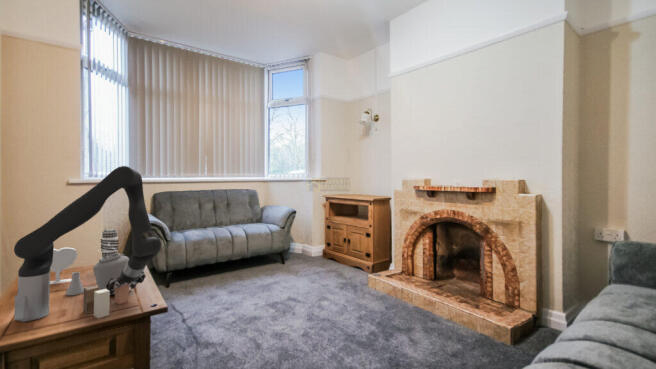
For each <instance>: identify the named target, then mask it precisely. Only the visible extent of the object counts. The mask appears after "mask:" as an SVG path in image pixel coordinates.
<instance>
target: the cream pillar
mask: <svg viewBox="0 0 656 369" xmlns="http://www.w3.org/2000/svg"><path fill="white" fill-rule="evenodd" d="M110 296H111V295H110V291H109V290H107V289H102V290H98V291H94V312H93V316H94V318H96V319H100V318H103V317H107V316H109V315H110V300H111V299H110Z"/></svg>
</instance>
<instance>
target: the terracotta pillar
mask: <svg viewBox="0 0 656 369" xmlns="http://www.w3.org/2000/svg"><path fill="white" fill-rule="evenodd" d="M119 285H120V283H119ZM115 286H116V285H115ZM129 290H130V288H129V284H126V285H123V286H122V287H120V288H117V289H115V294H114V303H115V304H117V305H121V304H125V303H128V302H129V294H130V291H129Z"/></svg>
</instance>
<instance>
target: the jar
mask: <svg viewBox="0 0 656 369" xmlns="http://www.w3.org/2000/svg"><path fill="white" fill-rule="evenodd" d="M108 245H109V244H108ZM99 250H100V249H97V251H99ZM104 250H105V249H104ZM114 250H115V249H114ZM115 251H116V250H115ZM100 252H101V250H100V251H99V253H100ZM101 253H102V252H101ZM124 254H125V253H123V254H122V253H120V252H119V253H118V252H117V253H116V254H111V255H108V256H105V257H102V256H101V257H102V258H101V257H100V258H98V262H97V263H95V264H94V266H93V267H92V268H93V270H92V271H93V274H94V278H95V281H96V286H97V287H99V290H102V289H107V287H106V285H107V283H108V282H109V280H110V279H111V278H113V279H114V280H115V279H118V278H119V277H120V274H121V272H122V270H123V268H124V266H125V265H126V263H127V262H128V261H129V259H130V257H128V256H126V255H124ZM130 285H131V283H130V284H129V289H131V287H130ZM114 287H115V285H114ZM111 295H115V291H114V292H113V294H110V296H111Z"/></svg>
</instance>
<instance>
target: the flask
mask: <svg viewBox="0 0 656 369" xmlns="http://www.w3.org/2000/svg"><path fill="white" fill-rule="evenodd" d="M70 274H71V279H72V280H71V281H70V283H69V285H68V286H67V290H66V291H65V293H64V294H65V295H66V296H78V295H82V294H84V288H85V287H84V286H83V283H82V281H81V278H80V275H81V272H80V271H75V272H72V273H70Z"/></svg>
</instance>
